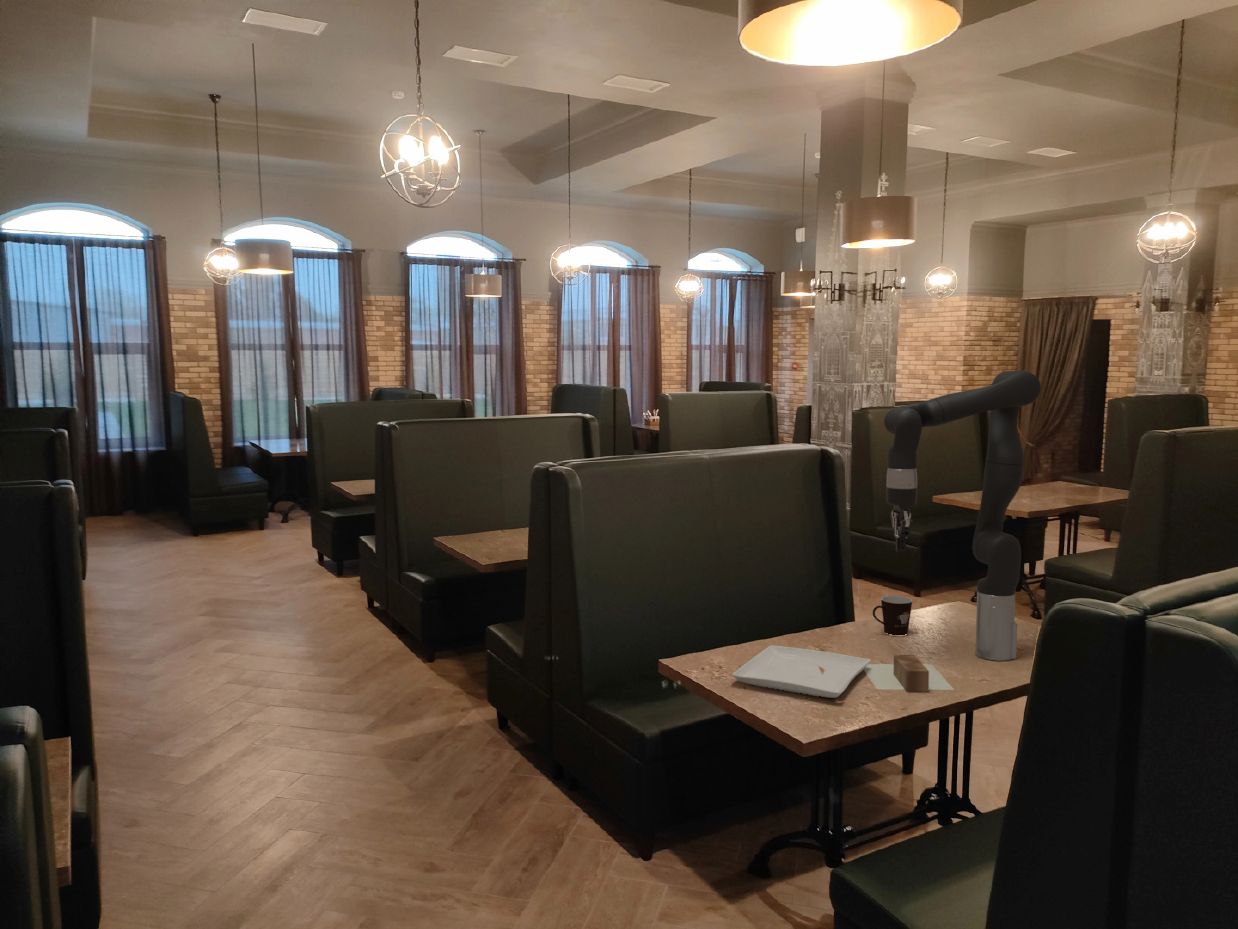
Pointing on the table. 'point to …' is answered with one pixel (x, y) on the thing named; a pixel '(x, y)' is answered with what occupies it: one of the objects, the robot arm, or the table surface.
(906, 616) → the coffee mug
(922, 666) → the walnut block
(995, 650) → the robot arm
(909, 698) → the table surface
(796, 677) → the square plate
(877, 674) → the sage mat
